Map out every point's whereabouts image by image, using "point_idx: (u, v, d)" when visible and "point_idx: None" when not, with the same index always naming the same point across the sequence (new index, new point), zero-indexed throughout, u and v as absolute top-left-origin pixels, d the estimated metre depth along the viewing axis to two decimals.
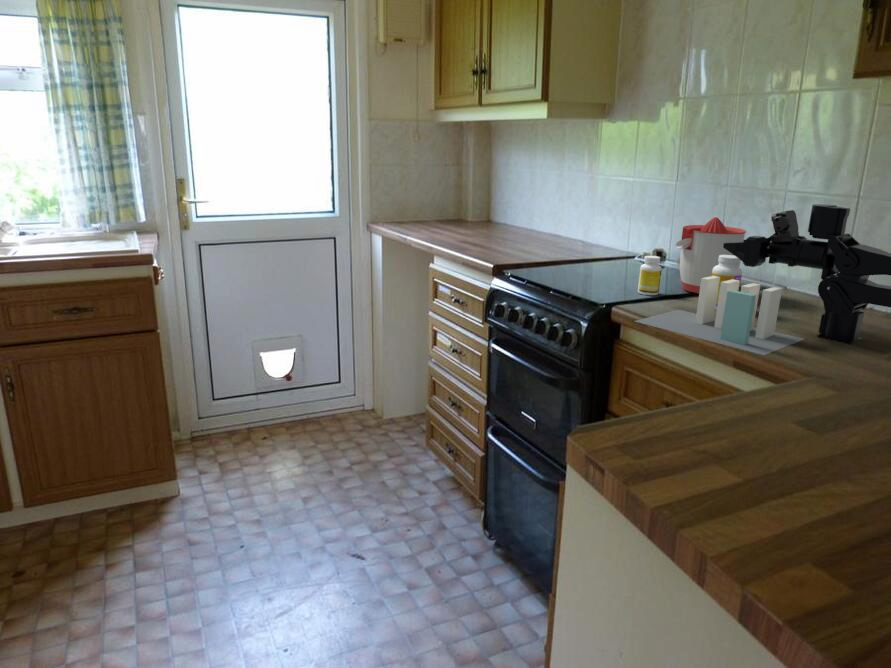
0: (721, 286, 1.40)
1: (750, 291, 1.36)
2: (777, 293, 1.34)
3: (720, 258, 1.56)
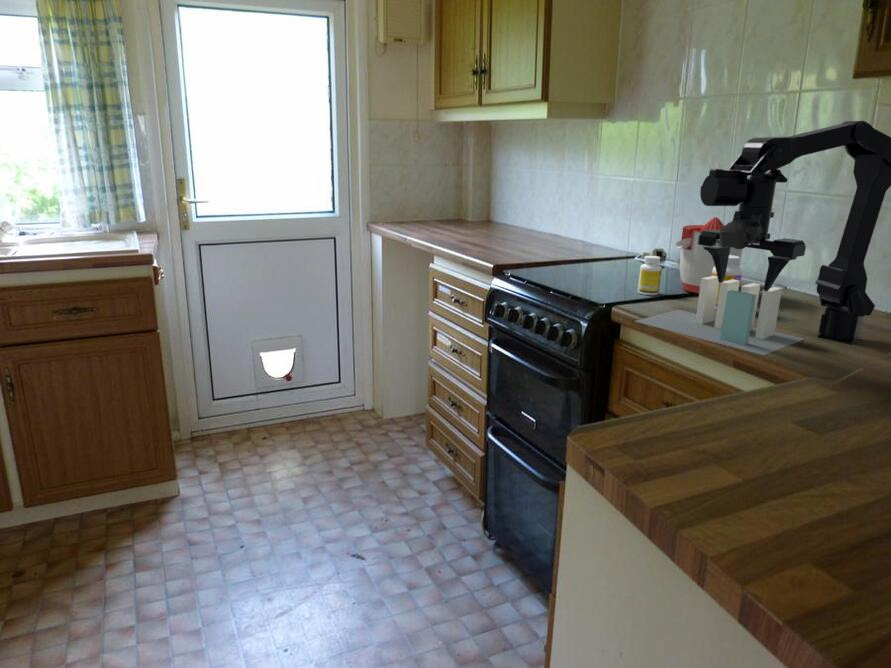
0: (721, 286, 1.40)
1: (750, 291, 1.36)
2: (777, 293, 1.34)
3: None
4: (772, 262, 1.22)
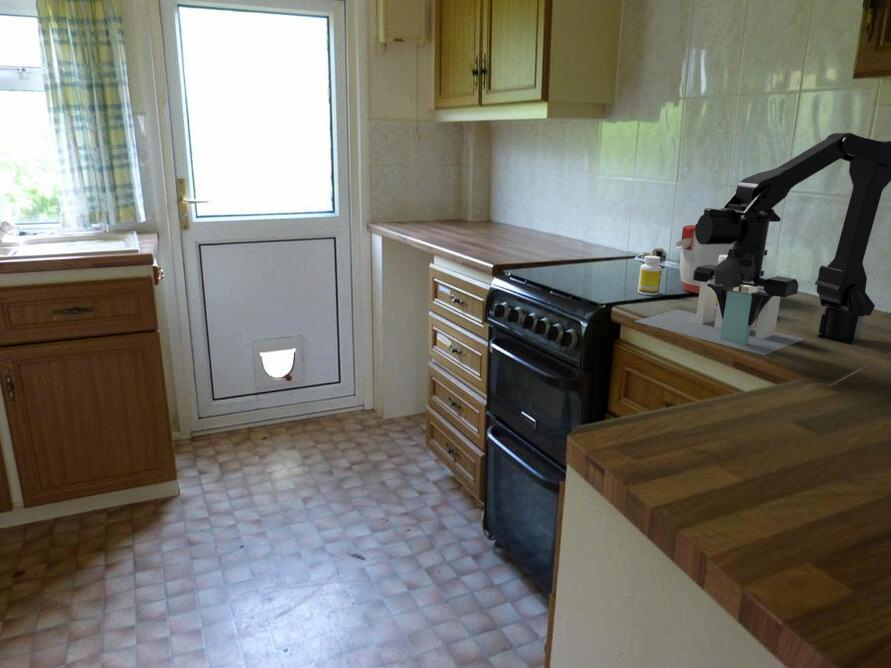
0: None
1: (750, 291, 1.36)
2: None
3: (720, 258, 1.56)
4: (755, 298, 1.26)
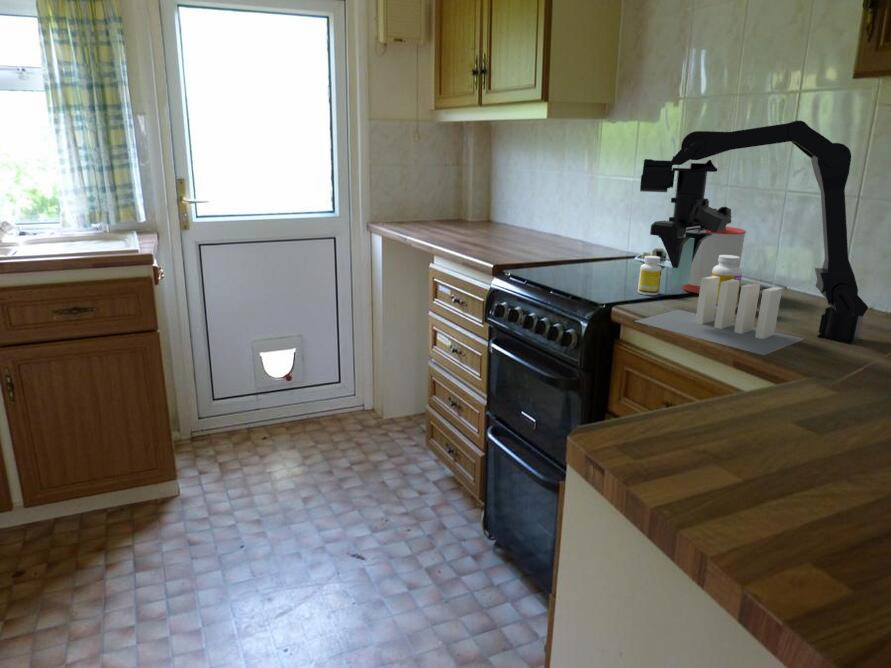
0: (721, 286, 1.40)
1: (750, 291, 1.36)
2: (777, 293, 1.34)
3: (720, 258, 1.56)
4: (703, 238, 1.43)
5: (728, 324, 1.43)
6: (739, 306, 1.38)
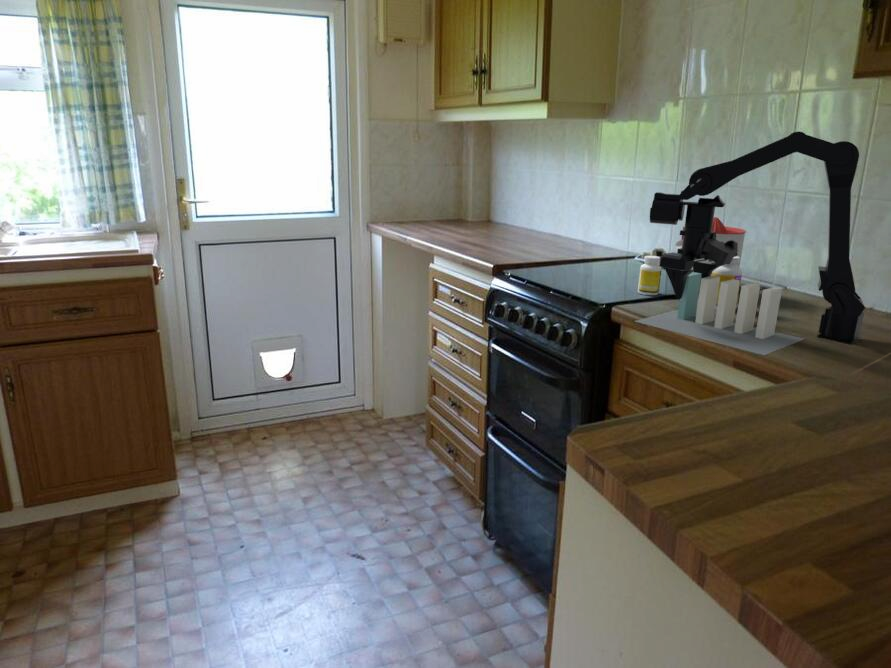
0: (721, 286, 1.40)
1: (750, 291, 1.36)
2: (777, 293, 1.34)
3: None
4: (714, 269, 1.49)
5: (728, 324, 1.43)
6: (739, 306, 1.38)
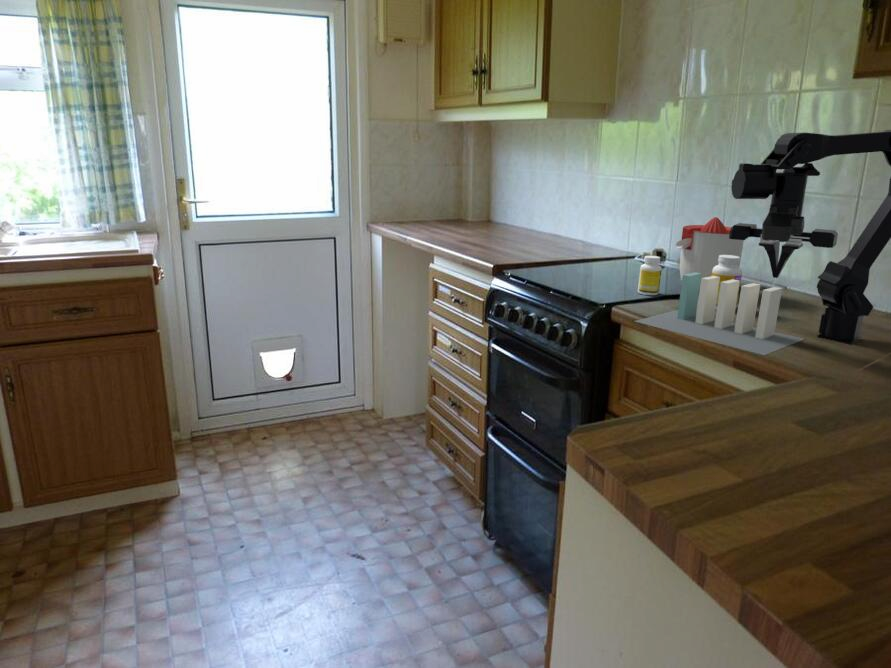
0: (721, 286, 1.40)
1: (750, 291, 1.36)
2: (777, 293, 1.34)
3: (720, 258, 1.56)
4: (785, 250, 1.29)
5: (728, 324, 1.43)
6: (739, 306, 1.38)
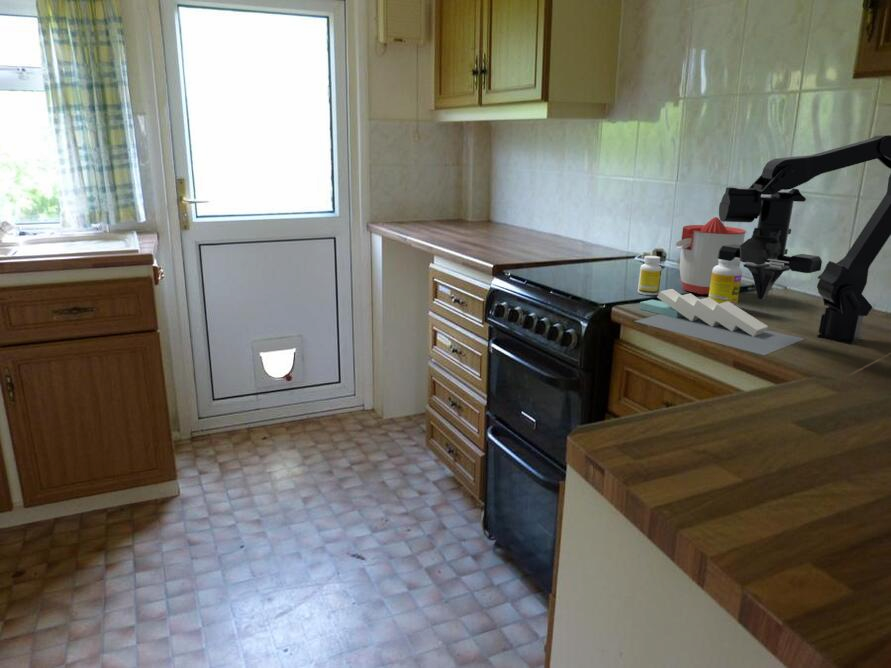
0: (679, 303, 1.48)
1: (703, 302, 1.45)
2: (728, 304, 1.43)
3: None
4: (767, 273, 1.32)
5: None
6: (710, 315, 1.43)
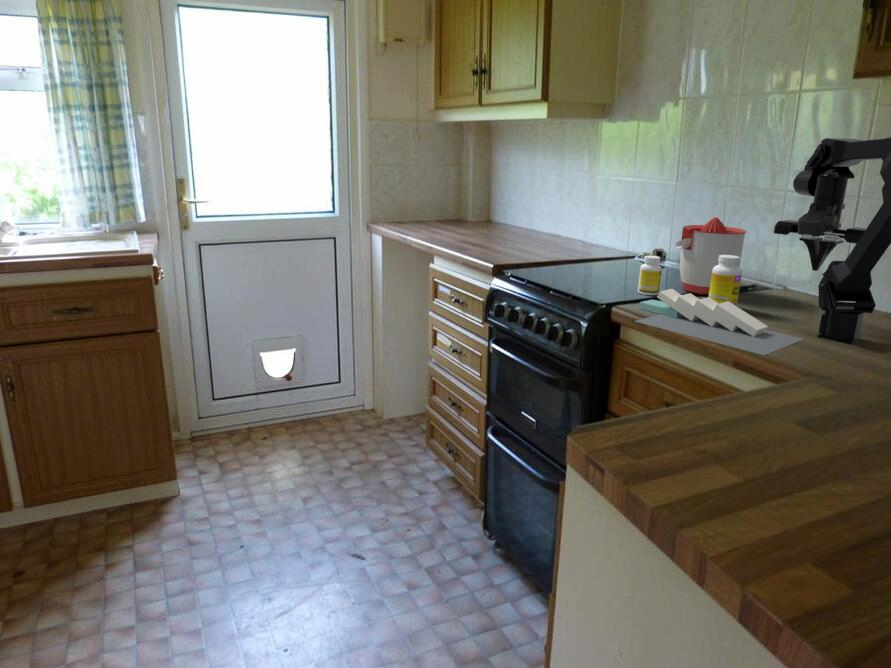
0: (679, 303, 1.48)
1: (703, 302, 1.45)
2: (728, 304, 1.43)
3: (720, 258, 1.56)
4: (823, 245, 1.42)
5: None
6: (710, 315, 1.43)
